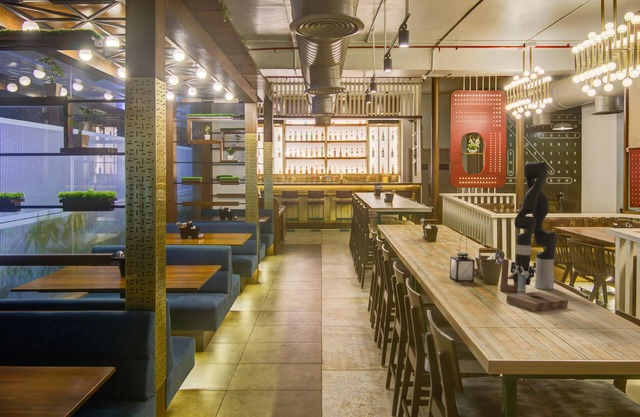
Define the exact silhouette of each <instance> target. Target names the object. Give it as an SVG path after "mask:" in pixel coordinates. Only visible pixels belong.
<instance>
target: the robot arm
mask: <svg viewBox="0 0 640 417" xmlns="http://www.w3.org/2000/svg"><path fill="white" fill-rule="evenodd" d="M548 168H549V167H548V164H547V162H545V161H527V162H526V163H525V164H524V171H523V172H524V176H525V177H524V178H525V181H526V185H527V189H528V191H526V193H525V194H524V196H523V199H522V202H521V206H520V207H521V208H520V210H519V211H518V213H517V215H516V216H515V218H514V221H513V222H514V227H515V228H516V229H521V230H526V232H524V233H523V232H522V233H518V234H517V237H516V246H515V261H512V262H511V264H510V271H509V272H510V273H511V274H512V273H513V279H512V281H513V283H514V282H517V281H518V275H517V274H518V273H519V272H522V274H525V276H526V286H530V285H531V280H532V278H535V279H534V287H535V288H536V289H539V290H552V289H554V288H555V286H554V285H555V272H554V266H555V265H554V261H555V255H556V247H557V246H556V245H557V240H558V239H557V238H558V237H557V234H556V232H555V231H553V230H552V231H551V230H544V229H543V223H544V220H545V219H546V217H547V215H548V213H549V211H550V205H549V199H548V197H547V195H546V194H545V193H544V192H543V190H542V188H543V186H544V183H545V181H546V179H547V176H548V171H549V170H548ZM529 215H532V216H529ZM532 237H533V238H534V239H533V240H534V243H535V245H536V246H540V247H544V248H545V247H546V248H545V250H543V251H538V252H537V253H536V258H535V260H536V261H535V263H536V264H535V266H534V265H530V263H531V259H532V258H531V257H532Z"/></svg>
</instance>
